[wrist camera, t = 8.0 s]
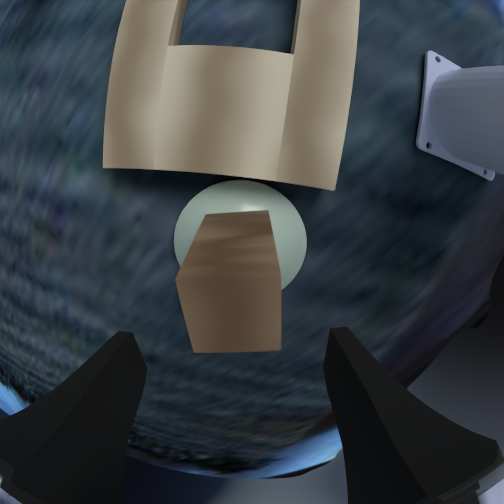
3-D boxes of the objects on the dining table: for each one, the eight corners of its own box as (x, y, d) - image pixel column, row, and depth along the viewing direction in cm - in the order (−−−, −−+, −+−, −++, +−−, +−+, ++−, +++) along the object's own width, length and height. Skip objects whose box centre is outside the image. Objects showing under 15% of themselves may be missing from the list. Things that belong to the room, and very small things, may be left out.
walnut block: (268, 210, 17) (281, 274, 10) (270, 265, 19) (281, 349, 12) (205, 214, 17) (174, 279, 10) (212, 268, 19) (193, 352, 12)
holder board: (351, -21, 10) (360, -32, 8) (325, 183, 17) (334, 190, 15) (152, -36, 9) (143, -47, 8) (116, 163, 16) (102, 167, 14)
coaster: (317, 189, 17) (318, 191, 17) (291, 303, 21) (292, 307, 21) (178, 173, 17) (176, 174, 16) (175, 290, 21) (174, 294, 20)
